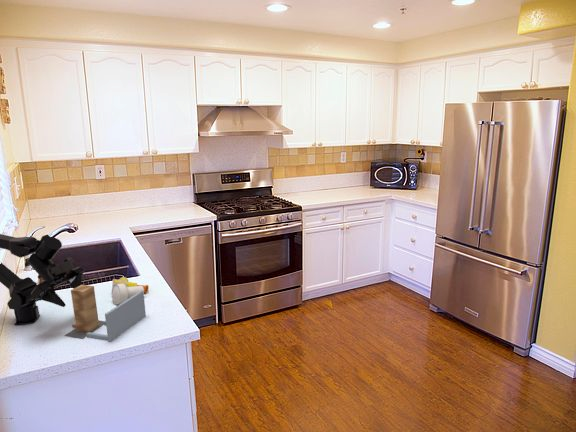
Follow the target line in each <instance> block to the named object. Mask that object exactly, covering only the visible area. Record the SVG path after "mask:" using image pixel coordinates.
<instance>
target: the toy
mask: <svg viewBox="0 0 576 432" xmlns="http://www.w3.org/2000/svg"><path fill="white" fill-rule="evenodd" d="M121 283H123V284H124V285H125V286H126V287H133V286H143V288H144V295H145V294H148V292H149V285H148V284H146V285H144V284H138V282H132V281H131V282H130V281H129V279H128V278H127V277H125V276H122V277H119V279H116V278H113V279H112V287H113V286H114V284H121ZM112 287H111V288H112Z"/></svg>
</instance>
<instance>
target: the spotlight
mask: <svg viewBox="0 0 576 432" xmlns="http://www.w3.org/2000/svg"><path fill="white" fill-rule="evenodd" d="M140 291H143V293H144V288H143V286H133V287H126V286H125V285H124V284H123V283H121V284H114V286H113V287H111V294H110V295H111V299H112V302H113V304H114V305H116V306H118V305H120V304H121V303H123V302H124V301H126V300H127V299H129V298H130V297H132V296H134V295H135V294H137V293H138V292H140ZM144 294H145V293H144Z"/></svg>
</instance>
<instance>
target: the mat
mask: <svg viewBox="0 0 576 432" xmlns="http://www.w3.org/2000/svg"><path fill="white" fill-rule="evenodd" d="M98 321H99V326H98V327H97V328H95V329H94V330H92V331H91V333H95V332H96V331H97V330H99V329H100V328H102V327H103V326H105V325H104V322H105V321H106V320H100V319H98ZM64 337H69V338H73V339H80V340H84V339H85V338H88V337H87V335H86V332H79V331H77V330H76V327H74V329H72V330H70V331H69V332H67V333H66V334H64Z"/></svg>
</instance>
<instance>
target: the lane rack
mask: <svg viewBox="0 0 576 432" xmlns="http://www.w3.org/2000/svg"><path fill="white" fill-rule="evenodd" d="M145 304H146V303H145V293H143V291H140V292H138V293H137V294H135V295H134V296H132V297H130V298H129V299H127V300H126V301H124V302H123V303H121V304H117V305H116V306H115V307H113V308H111V309H110V310H109V311H107V312H105V313H104V318H105V320H104V321H105V322H104V325H103V326H105V327H106V334H104V333H103V334H102V333H96V332H92V333H91V332H88V333H86V335H87V337H86V338H88V339H94V340H99V341H100V340H101V341H102V340H103V341H108V343H112V342H113V341H115V340H117V338H118V337H119V336H121V335H123V334H124V333H126V331H127V330H129V329H130V328H132V327H133V326H135V325H136V324H137V323H138V322H140V321H141V320H143V319H144V318H145V317H146V316H147V315H146V314H147V313H146V305H145Z"/></svg>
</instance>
